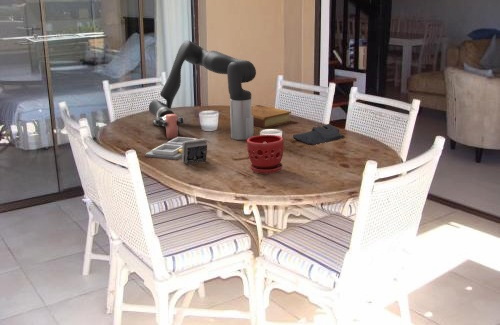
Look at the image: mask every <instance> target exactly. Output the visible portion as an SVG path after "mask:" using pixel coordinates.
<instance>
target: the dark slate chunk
mask: <svg viewBox="0 0 500 325" xmlns="http://www.w3.org/2000/svg"><path fill="white" fill-rule="evenodd" d="M343 137H344V138H345V136H344V135H342V133H340V129H339V128H338V127H336V126H334V125H332V124H331V123H327V124H324V125H322V126H319V125H318V126H317V127H316V126H313V127H312V128H311V130H310V131H305V132H302V133H297V134H293V135H292V138H293V139H295V140H297V141H300V142H301V143H305V144H306V145H309V144H310V146H317V145H320V143H322V144H326V143H329V142H334V141H336V140H341V139H340V138H342V139H344V138H343ZM333 140H334V141H333ZM325 142H326V143H325ZM316 144H317V145H316Z"/></svg>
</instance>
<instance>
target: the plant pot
mask: <svg viewBox="0 0 500 325" xmlns="http://www.w3.org/2000/svg"><path fill="white" fill-rule="evenodd" d="M284 146H285V144H284V137H282V136H280V135H276V134H261V135H254V136H253V137H250V138H248V139H246V148H247V153H248V158H249V161H250V163H251V164H250V167H249V168H250V170H252V171H253V172H254V173H257V174H265V175H267V174H274V173H278V172H279V171H281V170H282V168H283V163H282V159H283V157H284V156H283V155H284Z"/></svg>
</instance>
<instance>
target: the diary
mask: <svg viewBox="0 0 500 325" xmlns="http://www.w3.org/2000/svg"><path fill="white" fill-rule="evenodd" d="M251 109H252V115H253V127H257V128H261V129H267V128H272V127H275V126H279V125H284V124H288V123H291V122H292V121H291V120H290V115H291V114H292V111H290V110H286V109H280V108H275V107H269V106H265V105H262V104H261V105H260V104H256V105H251ZM287 122H288V123H287ZM283 123H284V124H283Z"/></svg>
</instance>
